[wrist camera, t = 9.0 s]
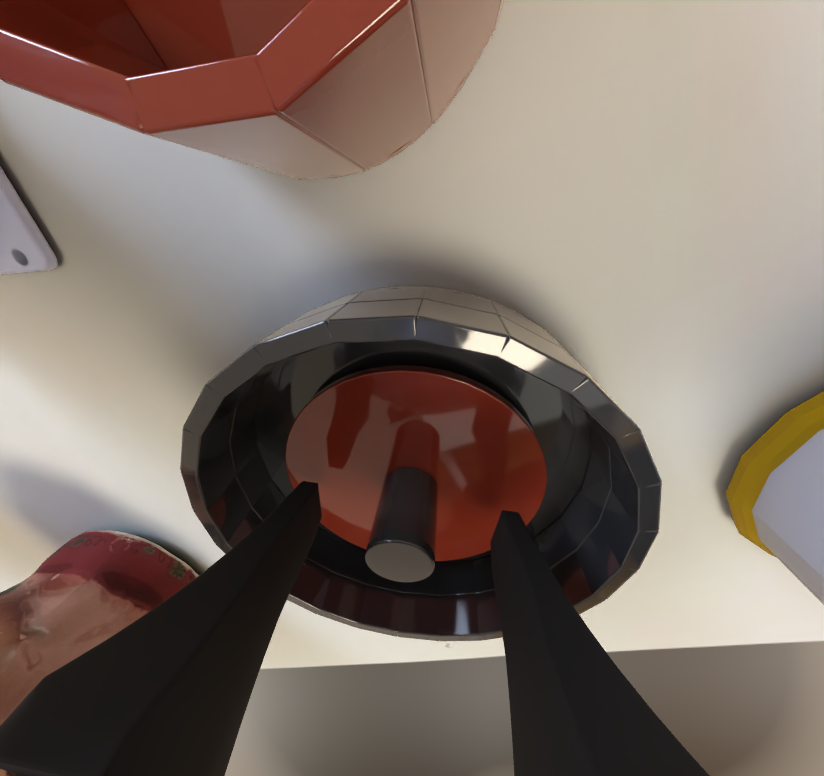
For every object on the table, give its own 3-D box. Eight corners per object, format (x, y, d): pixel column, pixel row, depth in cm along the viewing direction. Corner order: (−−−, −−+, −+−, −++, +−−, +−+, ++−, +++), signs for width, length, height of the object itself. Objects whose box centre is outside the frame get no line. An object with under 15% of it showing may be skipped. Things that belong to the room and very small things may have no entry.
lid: (308, 525, 17) (267, 614, 13) (279, 341, 11) (190, 402, 7) (505, 555, 16) (522, 658, 12) (580, 376, 10) (655, 465, 7)
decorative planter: (307, 624, 24) (170, 1013, 12) (217, 640, 29) (49, 945, 17) (84, 465, 17) (-799, 1052, 5) (6, 518, 21) (-580, 909, 9)
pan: (301, 551, 19) (268, 624, 16) (189, 299, 11) (73, 332, 8) (563, 568, 17) (593, 657, 13) (654, 269, 9) (783, 297, 6)
